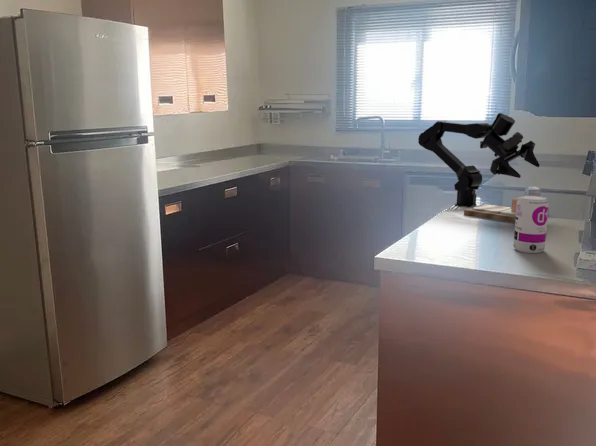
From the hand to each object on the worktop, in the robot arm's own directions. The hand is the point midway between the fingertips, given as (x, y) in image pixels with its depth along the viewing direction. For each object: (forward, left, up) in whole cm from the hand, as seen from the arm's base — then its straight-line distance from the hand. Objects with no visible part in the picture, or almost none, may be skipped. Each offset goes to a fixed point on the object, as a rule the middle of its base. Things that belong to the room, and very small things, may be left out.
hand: (529, 171), depth 211 cm
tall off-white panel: (-1, -7, -14) cm, 16 cm away
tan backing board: (-6, -7, -16) cm, 19 cm away
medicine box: (-3, +12, -16) cm, 20 cm away
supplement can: (+20, -48, -16) cm, 55 cm away
